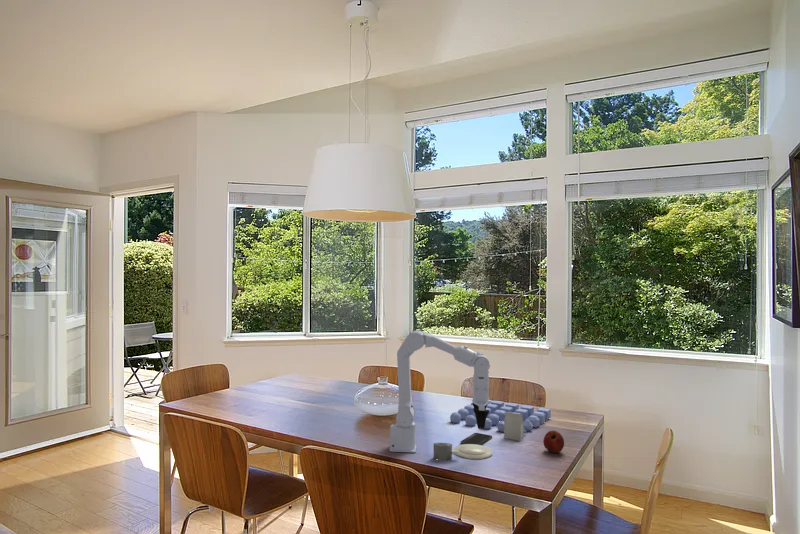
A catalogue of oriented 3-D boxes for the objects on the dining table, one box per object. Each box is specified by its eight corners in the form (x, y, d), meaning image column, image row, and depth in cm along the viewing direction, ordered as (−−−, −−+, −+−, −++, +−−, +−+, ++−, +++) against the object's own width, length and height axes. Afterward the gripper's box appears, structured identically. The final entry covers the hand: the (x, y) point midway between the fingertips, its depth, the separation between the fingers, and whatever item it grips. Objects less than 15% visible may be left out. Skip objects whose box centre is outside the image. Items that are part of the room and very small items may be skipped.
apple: (540, 452, 190) (540, 431, 190) (547, 447, 196) (547, 426, 196) (560, 457, 186) (560, 434, 186) (566, 451, 192) (566, 429, 192)
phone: (459, 442, 198) (475, 432, 211) (459, 445, 198) (475, 435, 211) (478, 446, 194) (493, 435, 207) (478, 449, 194) (493, 438, 207)
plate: (453, 458, 183) (453, 454, 183) (453, 445, 197) (453, 442, 197) (493, 460, 181) (493, 456, 181) (490, 447, 195) (490, 444, 195)
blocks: (550, 419, 237) (550, 409, 237) (524, 438, 208) (524, 426, 208) (480, 408, 256) (480, 398, 256) (448, 423, 228) (448, 412, 228)
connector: (433, 459, 181) (433, 445, 181) (433, 456, 184) (433, 442, 184) (457, 461, 180) (457, 446, 180) (457, 457, 183) (457, 443, 183)
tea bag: (520, 440, 204) (520, 415, 204) (504, 437, 207) (504, 412, 207) (523, 438, 207) (523, 413, 207) (506, 435, 210) (507, 410, 210)
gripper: (493, 393, 181) (492, 431, 181) (490, 384, 196) (489, 420, 195) (473, 392, 182) (472, 430, 182) (471, 383, 196) (471, 419, 196)
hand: (480, 425), depth 189 cm, fingers open, 7 cm apart
